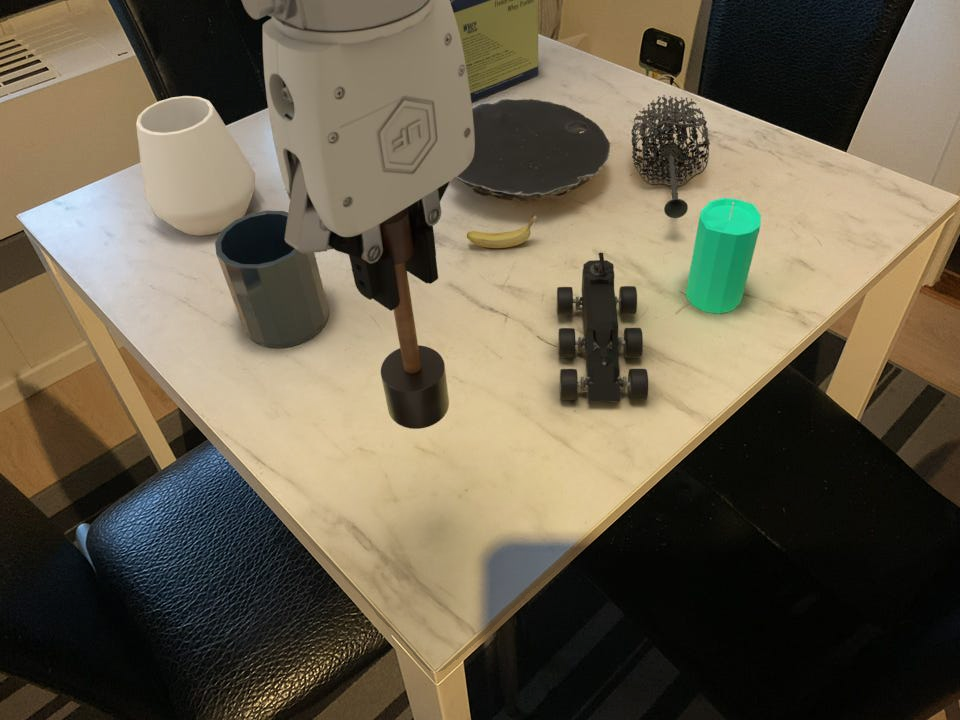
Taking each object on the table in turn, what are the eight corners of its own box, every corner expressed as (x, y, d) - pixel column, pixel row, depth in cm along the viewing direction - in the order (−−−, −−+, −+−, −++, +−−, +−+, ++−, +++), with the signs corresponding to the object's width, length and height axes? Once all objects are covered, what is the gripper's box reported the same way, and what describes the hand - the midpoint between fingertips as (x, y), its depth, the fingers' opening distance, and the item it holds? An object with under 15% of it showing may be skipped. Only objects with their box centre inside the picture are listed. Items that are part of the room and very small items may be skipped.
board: (601, 128, 111) (604, 94, 107) (615, 224, 96) (618, 188, 92) (444, 133, 112) (441, 99, 108) (433, 228, 97) (429, 193, 93)
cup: (230, 171, 108) (198, 74, 98) (283, 212, 101) (255, 112, 91) (138, 214, 102) (95, 115, 92) (188, 261, 95) (147, 159, 85)
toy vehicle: (632, 302, 86) (640, 237, 80) (646, 408, 76) (656, 344, 70) (556, 303, 87) (558, 238, 80) (560, 408, 76) (562, 344, 70)
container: (248, 356, 83) (218, 276, 75) (241, 301, 90) (212, 221, 82) (335, 336, 85) (314, 255, 77) (322, 282, 91) (301, 202, 83)
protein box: (540, 74, 122) (540, -31, 111) (458, 109, 116) (449, 1, 105) (498, 51, 128) (495, -51, 117) (418, 83, 122) (406, -22, 111)
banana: (535, 238, 95) (535, 210, 92) (537, 247, 94) (537, 219, 91) (467, 243, 95) (465, 216, 92) (468, 253, 93) (466, 225, 91)
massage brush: (630, 240, 93) (637, 172, 87) (627, 140, 108) (633, 74, 102) (711, 243, 92) (726, 174, 86) (698, 141, 107) (709, 75, 101)
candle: (716, 269, 89) (735, 178, 80) (754, 300, 85) (778, 208, 77) (673, 289, 87) (689, 198, 79) (710, 321, 84) (731, 229, 75)
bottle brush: (394, 435, 56) (355, 242, 43) (382, 390, 58) (342, 197, 46) (455, 420, 56) (433, 225, 44) (441, 376, 59) (416, 182, 47)
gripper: (245, 67, 30) (334, 389, 43) (530, -60, 38) (531, 248, 51) (146, 15, 34) (256, 325, 47) (423, -91, 41) (450, 203, 55)
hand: (398, 283), depth 49 cm, fingers closed on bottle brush, 2 cm apart
